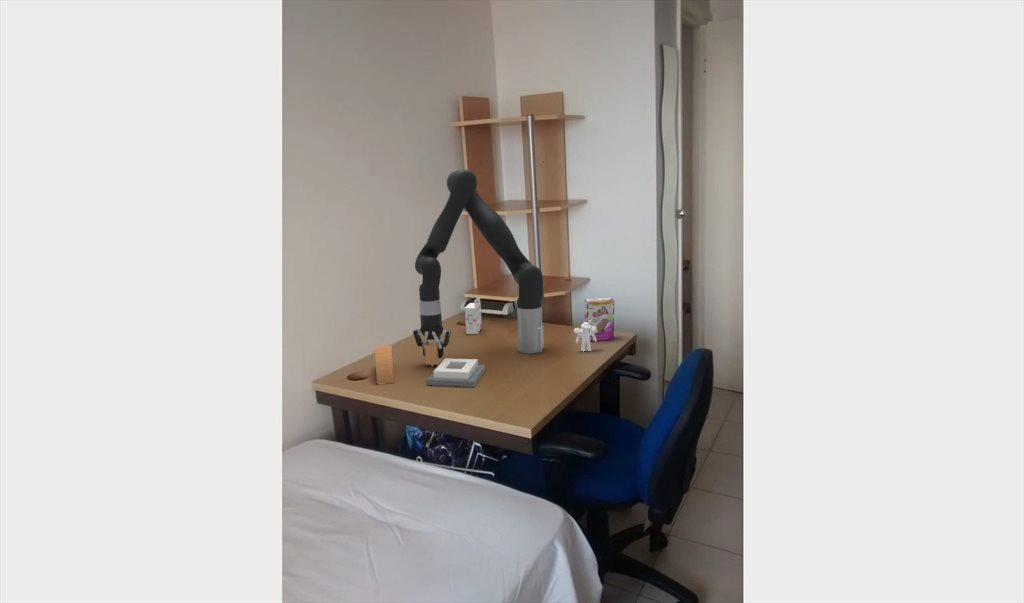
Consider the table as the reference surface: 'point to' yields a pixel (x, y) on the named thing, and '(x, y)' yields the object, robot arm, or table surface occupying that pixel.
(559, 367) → the table surface
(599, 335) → the candy bar box
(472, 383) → the socket plate
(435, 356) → the cardboard parcel
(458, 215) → the robot arm
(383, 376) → the arch
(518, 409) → the table surface
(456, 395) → the table surface
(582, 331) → the blocky character figurine
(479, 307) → the ink cartridge box
